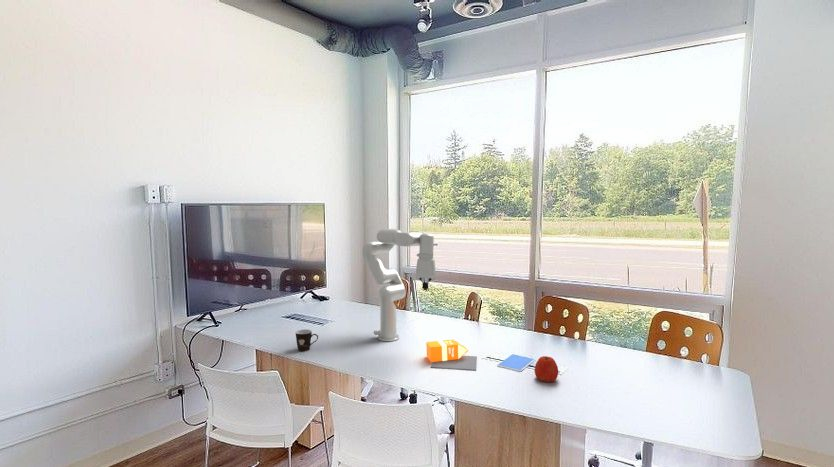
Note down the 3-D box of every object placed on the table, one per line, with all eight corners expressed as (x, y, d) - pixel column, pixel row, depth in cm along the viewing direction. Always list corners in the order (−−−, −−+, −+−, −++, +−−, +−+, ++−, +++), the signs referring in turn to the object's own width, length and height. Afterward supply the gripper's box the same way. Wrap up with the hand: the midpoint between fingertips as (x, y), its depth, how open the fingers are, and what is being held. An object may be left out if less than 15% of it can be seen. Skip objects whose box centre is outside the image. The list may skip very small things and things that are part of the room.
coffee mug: (292, 350, 222) (291, 332, 222) (303, 346, 230) (303, 328, 229) (308, 354, 217) (308, 335, 216) (319, 349, 224) (319, 331, 224)
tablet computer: (512, 355, 216) (512, 353, 216) (535, 361, 209) (535, 358, 209) (496, 367, 200) (496, 364, 200) (520, 373, 193) (521, 370, 193)
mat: (430, 367, 198) (430, 366, 198) (434, 354, 216) (434, 354, 216) (476, 370, 195) (476, 369, 195) (476, 357, 213) (476, 356, 213)
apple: (553, 374, 190) (553, 352, 190) (561, 384, 180) (562, 360, 179) (531, 374, 190) (531, 352, 189) (538, 384, 180) (539, 361, 179)
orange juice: (430, 347, 204) (468, 343, 208) (426, 341, 213) (462, 338, 217) (430, 362, 205) (468, 358, 209) (426, 356, 213) (463, 352, 217)
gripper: (411, 256, 218) (410, 290, 220) (439, 258, 215) (437, 292, 217) (414, 254, 226) (413, 287, 227) (440, 256, 223) (439, 289, 224)
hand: (425, 289), depth 222 cm, fingers closed
